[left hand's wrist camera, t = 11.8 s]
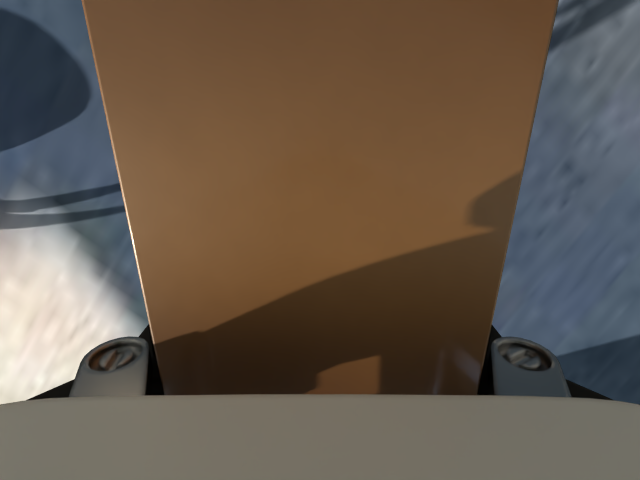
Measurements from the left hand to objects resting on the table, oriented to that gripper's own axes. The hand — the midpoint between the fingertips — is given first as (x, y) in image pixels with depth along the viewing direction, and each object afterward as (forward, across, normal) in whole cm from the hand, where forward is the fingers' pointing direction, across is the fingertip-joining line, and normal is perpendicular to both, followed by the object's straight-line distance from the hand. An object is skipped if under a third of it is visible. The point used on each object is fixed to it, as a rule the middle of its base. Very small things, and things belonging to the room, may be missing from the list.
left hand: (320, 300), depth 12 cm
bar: (+3, 0, -22) cm, 22 cm away
